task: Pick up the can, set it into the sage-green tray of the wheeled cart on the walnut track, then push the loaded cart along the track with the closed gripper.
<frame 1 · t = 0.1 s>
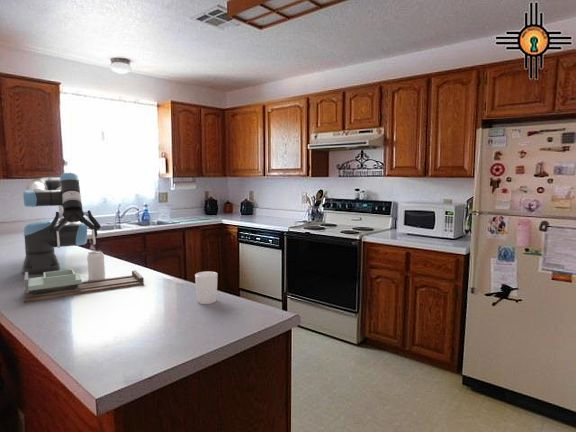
hand: (77, 245, 167), 15 cm above the worktop, tool tilted 35°, fingers open, 13 cm apart
cart: (53, 280, 149), point 5 cm above the worktop, slide at 0.0 cm
white cup: (206, 301, 139), on the worktop
track: (86, 288, 155), on the worktop
can: (96, 279, 169), on the worktop
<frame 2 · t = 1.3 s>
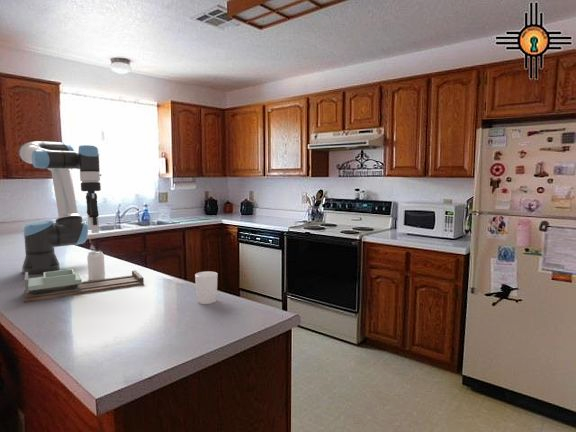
hand: (93, 231, 167), 21 cm above the worktop, tool pointing down, fingers open, 13 cm apart
nothing on the worktop moved.
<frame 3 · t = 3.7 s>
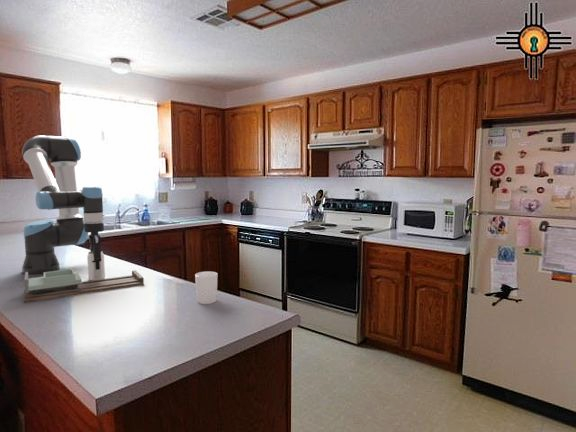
hand: (96, 274, 169), 2 cm above the worktop, tool pointing down, fingers closed on can, 6 cm apart
can: (96, 279, 169), on the worktop, touching gripper
everything else where it was.
when the fingers open (9 cm above the worktop, at t = 8.4 s): can drops 2 cm, resting on cart.
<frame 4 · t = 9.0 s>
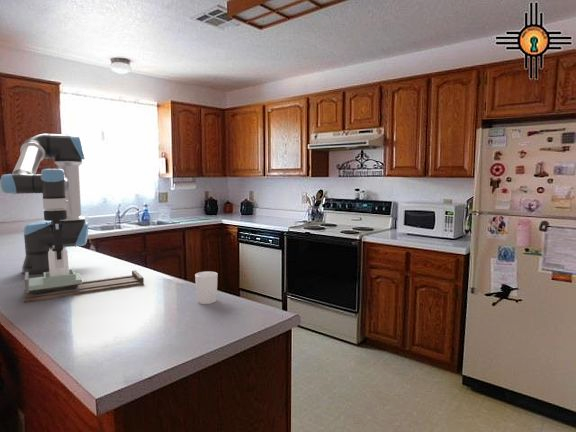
hand: (58, 264, 149), 11 cm above the worktop, tool pointing down, fingers open, 13 cm apart
cart: (53, 280, 149), point 5 cm above the worktop, slide at 0.1 cm, touching can
can: (59, 278, 150), point 5 cm above the worktop, touching cart
everything else where it was.
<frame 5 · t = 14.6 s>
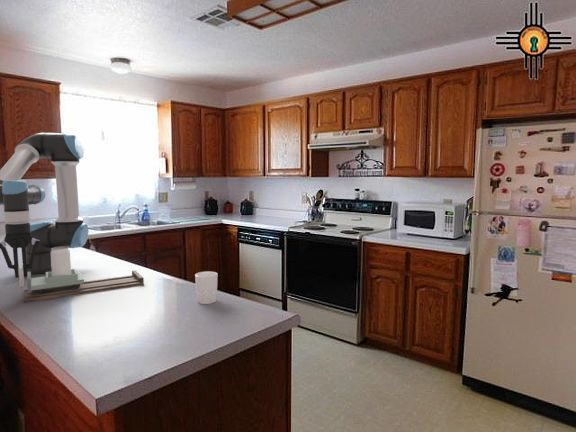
hand: (22, 285, 144), 4 cm above the worktop, tool pointing down, fingers closed
cart: (55, 280, 149), point 5 cm above the worktop, slide at 0.8 cm, touching can, gripper
everything else where it was.
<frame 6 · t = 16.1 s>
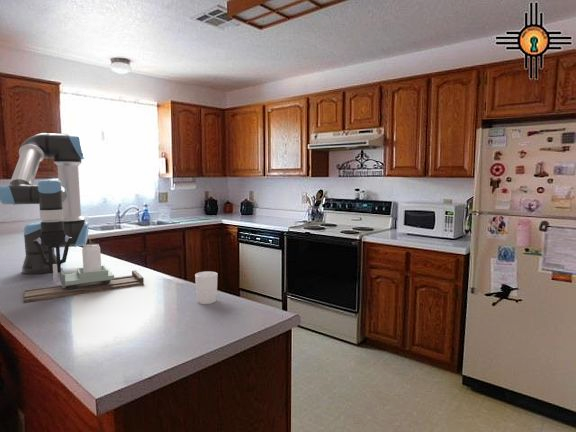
hand: (55, 281, 149), 4 cm above the worktop, tool pointing down, fingers closed
cart: (87, 276, 155), point 5 cm above the worktop, slide at 11.5 cm, touching can, gripper
can: (92, 274, 156), point 5 cm above the worktop, touching cart
everything else where it was.
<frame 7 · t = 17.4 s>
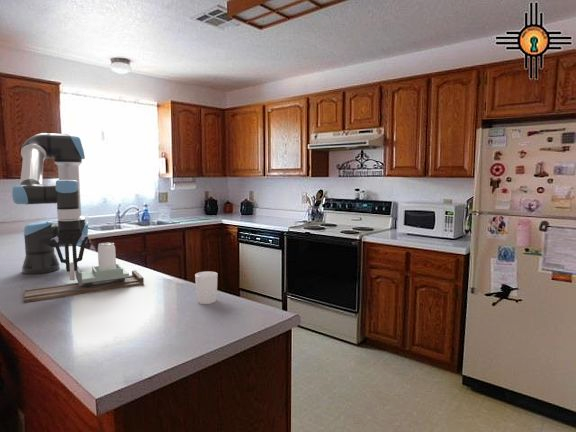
hand: (72, 279, 152), 4 cm above the worktop, tool pointing down, fingers closed
cart: (102, 274, 158), point 5 cm above the worktop, slide at 17.1 cm, touching can, gripper
can: (107, 272, 159), point 5 cm above the worktop, touching cart
everything else where it was.
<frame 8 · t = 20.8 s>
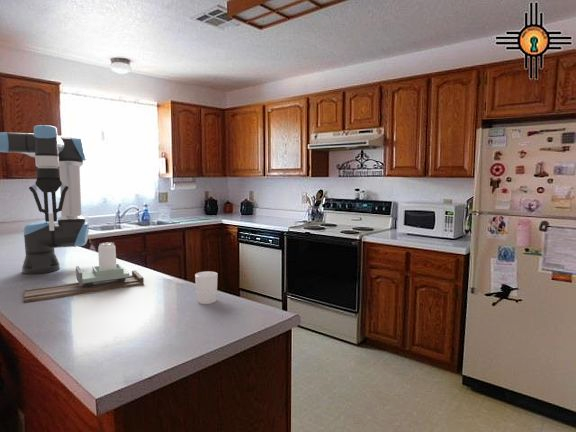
hand: (51, 230, 147), 24 cm above the worktop, tool pointing down, fingers closed
cart: (102, 274, 158), point 5 cm above the worktop, slide at 17.3 cm, touching can
everything else where it was.
at the end: cart slide at 17.3 cm; can 0.0 cm from the target spot on the cart, point 5.2 cm above the cart's base; can tilted 0° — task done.
